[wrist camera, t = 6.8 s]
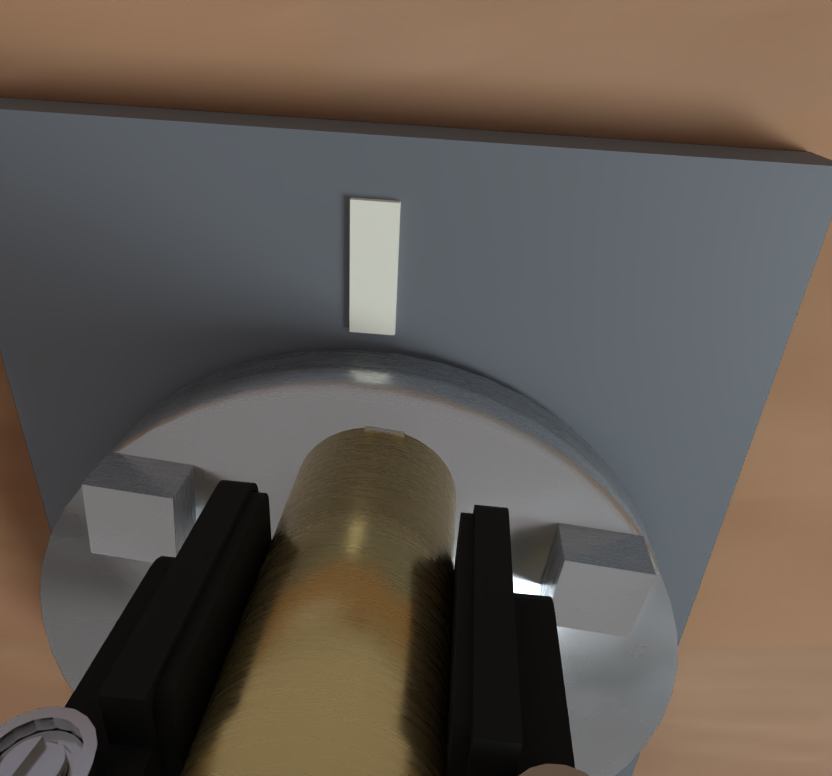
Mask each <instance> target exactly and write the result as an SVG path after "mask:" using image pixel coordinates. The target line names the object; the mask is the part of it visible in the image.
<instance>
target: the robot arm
mask: <svg viewBox="0 0 832 776" xmlns="http://www.w3.org/2000/svg"><path fill="white" fill-rule="evenodd" d="M271 541H272V539H271V523H270V507H269V496H268V494H267V493H261V492H259V491H258V486H257V484H256V483H251V482H240V481H230V480H221V481H220V482H219V483H218V484H217V486H216V488H215V489H214V491H213V493H212V495H211V496H210V498H209V500H208V502H207V503H206V505H205V507H204V509H203V510H202V512H201V514H200V516H199V517H198V519H197V521H196V523H195V524H194V526H193V528H192V530H191V531H190V533H189V535H188V536H187V538H186V540H185V542H184V543H183V545H182V547H181V549H180V550H179V552H178V554H177V556H176V557H168V556H160V557H159V558H157V559H156V560H155V561H154V562H153V564H152V565H151V566H150V568H149V570H148V571H147V573H146V574H145V576H144V578H143V579H142V581H141V583H140V584H139V586H138V588H137V589H136V591H135V592H134V594H133V596H132V597H131V599H130V601H129V602H128V604H127V606H126V607H125V609H124V611H123V612H122V614H121V615H120V617H119V619H118V620H117V622H116V624H115V625H114V627H113V629H112V630H111V632H110V633H109V635H108V637H107V638H106V640H105V642H104V643H103V645H102V647H101V648H100V650H99V652H98V653H97V655H96V656H95V658H94V660H93V661H92V663H91V665H90V666H89V668H88V670H87V671H86V673H85V674H84V676H83V678H82V679H81V681H80V683H79V684H78V686H77V688H76V689H75V691H74V693H73V694H72V696H71V697H70V699H69V701H68V702H67V704H66V706H65V707H60V706H55V707H46V708H38V709H35V710H32V711H30V712H27V713H24V714H21V715H18V716H16V717H15V718H13V719H11V720H10V721H8V722H6V723H5V724H3V725H1V726H0V776H180V774H181V772H182V769H183V767H184V764H185V761H186V759H187V756H188V754H189V751H190V749H191V746H192V743H193V741H194V738H195V736H196V733H197V731H198V728H199V726H200V723H201V720H202V718H203V715H204V713H205V710H206V708H207V705H208V702H209V700H210V697H211V695H212V692H213V690H214V687H215V685H216V682H217V679H218V677H219V674H220V672H221V669H222V667H223V664H224V661H225V659H226V656H227V654H228V651H229V649H230V646H231V643H232V641H233V638H234V636H235V633H236V631H237V628H238V626H239V623H240V620H241V618H242V615H243V613H244V610H245V608H246V605H247V602H248V600H249V597H250V595H251V592H252V590H253V587H254V585H255V582H256V579H257V577H258V574H259V572H260V569H261V567H262V564H263V561H264V559H265V556H266V554H267V551H268V549H269V546H270V543H271ZM445 776H589V775H588V774H586V773H585V772H583V771H581V770H578V769H575V762H574V754H573V747H572V739H571V731H570V723H569V716H568V708H567V700H566V692H565V685H564V677H563V669H562V662H561V654H560V646H559V638H558V631H557V623H556V615H555V608H554V603H553V600H552V597H551V596H542V595H533V594H523V593H514V587H513V571H512V554H511V538H510V521H509V509H508V508H505V507H495V506H484V505H474V510H473V513H464V512H461V514H460V521H459V530H458V539H457V548H456V556H455V565H454V579H453V605H452V628H451V652H450V676H449V699H448V723H447V746H446V770H445Z"/></svg>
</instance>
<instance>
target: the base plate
mask: <svg viewBox="0 0 832 776" xmlns="http://www.w3.org/2000/svg"><path fill="white" fill-rule="evenodd" d="M831 218H832V160H830V159H827V158H824V157H822V156H819V155H817V154H814V153H811V152H802V151H787V150H772V149H758V148H743V147H728V146H713V145H699V144H684V143H669V142H654V141H639V140H625V139H610V138H595V137H580V136H565V135H551V134H536V133H521V132H506V131H492V130H477V129H462V128H447V127H432V126H418V125H403V124H388V123H373V122H359V121H344V120H329V119H314V118H299V117H285V116H270V115H255V114H240V113H225V112H211V111H196V110H181V109H166V108H152V107H137V106H122V105H107V104H92V103H78V102H63V101H48V100H33V99H18V98H4V97H0V351H1V355H2V359H3V362H4V366H5V369H6V373H7V376H8V380H9V384H10V387H11V391H12V394H13V398H14V402H15V405H16V409H17V412H18V416H19V419H20V423H21V427H22V430H23V434H24V437H25V441H26V445H27V448H28V452H29V455H30V459H31V462H32V466H33V470H34V473H35V477H36V480H37V484H38V488H39V491H40V495H41V498H42V502H43V505H44V509H45V513H46V516H47V520H48V523H49V527H50V530H51V534H52V532H53V530H54V528H55V526H56V524H57V522H58V520H59V518H60V516H61V514H62V512H63V511H64V509H65V507H66V506H67V504H68V503H69V502H70V501H71V499H72V498H73V497H74V496H75V494H76V493H77V492H78V491H79V489H80V488H81V487H82V483H83V482H84V481H85V480H86V479H87V477H88V476H89V475H90V474H91V473H92V472H93V470H94V469H95V468H96V467H97V466H98V465H99V463H100V462H101V461H102V460H103V459H104V457H105V456H106V455H107V454H108V453H109V452H111V451H112V450H113V449H114V448H115V446H116V445H117V444H118V443H119V442H120V440H121V439H122V438H123V437H124V436H125V435H126V433H127V432H128V431H129V430H130V429H131V427H132V426H133V425H134V424H135V423H137V422H138V421H139V420H140V419H141V418H142V417H143V416H145V415H146V414H147V413H148V412H149V411H150V410H151V409H152V408H154V407H155V406H156V405H157V404H158V403H159V402H161V401H163V400H164V399H166V398H167V397H169V396H171V395H172V394H174V393H175V392H177V391H179V390H180V389H182V388H183V387H185V386H187V385H188V384H190V383H192V382H194V381H197V380H199V379H201V378H203V377H206V376H208V375H210V374H213V373H215V372H217V371H219V370H222V369H224V368H227V367H230V366H234V365H237V364H241V363H244V362H248V361H252V360H255V359H259V358H262V357H266V356H273V355H280V354H287V353H293V352H300V351H307V350H344V349H356V350H366V351H376V352H387V353H397V354H403V355H408V356H412V357H417V358H421V359H426V360H431V361H435V362H440V363H444V364H447V365H450V366H453V367H456V368H459V369H462V370H465V371H468V372H470V373H473V374H476V375H479V376H482V377H485V378H488V379H490V380H492V381H494V382H496V383H498V384H500V385H502V386H504V387H506V388H508V389H510V390H512V391H514V392H516V393H519V394H521V395H523V396H525V397H527V398H528V399H530V400H531V401H533V402H534V403H536V404H538V405H539V406H541V407H542V408H544V409H545V410H547V411H548V412H550V413H551V414H553V415H554V416H556V417H557V418H559V419H560V420H562V421H563V422H564V423H566V424H567V425H568V426H569V427H570V428H571V429H572V430H574V431H575V432H576V433H577V434H578V435H579V436H580V437H582V438H583V439H584V440H585V441H586V442H587V443H589V444H590V445H591V446H592V447H593V448H594V449H595V450H596V452H597V453H598V454H599V455H600V456H601V457H602V458H603V460H604V461H605V462H606V463H607V464H608V465H609V467H610V468H611V469H612V470H613V471H614V472H615V474H616V475H617V476H618V478H619V479H620V481H621V483H622V484H623V486H624V487H625V489H626V491H627V492H628V494H629V495H630V497H631V499H632V500H633V502H634V503H635V505H636V508H637V510H638V512H639V515H640V517H641V520H642V522H643V525H644V527H645V529H646V532H647V534H648V537H649V540H650V543H651V546H652V549H653V552H654V555H655V558H656V561H657V564H658V567H659V570H660V573H661V576H662V579H663V581H664V584H665V587H666V590H667V593H668V596H669V599H670V602H671V606H672V611H673V616H674V621H675V626H676V630H677V647H678V645H679V642H680V639H681V636H682V633H683V631H684V628H685V625H686V622H687V620H688V617H689V614H690V611H691V608H692V606H693V603H694V600H695V597H696V594H697V592H698V589H699V586H700V583H701V580H702V578H703V575H704V572H705V569H706V567H707V564H708V561H709V558H710V555H711V553H712V550H713V547H714V544H715V541H716V539H717V536H718V533H719V530H720V528H721V525H722V522H723V519H724V516H725V514H726V511H727V508H728V505H729V502H730V500H731V497H732V494H733V491H734V488H735V486H736V483H737V480H738V477H739V475H740V472H741V469H742V466H743V463H744V461H745V458H746V455H747V452H748V449H749V447H750V444H751V441H752V438H753V436H754V433H755V430H756V427H757V424H758V422H759V419H760V416H761V413H762V410H763V408H764V405H765V402H766V399H767V396H768V394H769V391H770V388H771V385H772V383H773V380H774V377H775V374H776V371H777V369H778V366H779V363H780V360H781V357H782V355H783V352H784V349H785V346H786V344H787V341H788V338H789V335H790V332H791V330H792V327H793V324H794V321H795V318H796V316H797V313H798V310H799V307H800V304H801V302H802V299H803V296H804V293H805V291H806V288H807V285H808V282H809V279H810V277H811V274H812V271H813V268H814V265H815V263H816V260H817V257H818V254H819V252H820V249H821V246H822V243H823V240H824V238H825V235H826V232H827V229H828V226H829V224H830V221H831ZM639 753H640V752H639ZM639 753H638V754H637V755H636V756H635V757H634V758H633V760H632V761H631V762H630V763H629V764H628V765H627V766H626V767H625V768H624V769H623V770H621V771H620V772H619V773H618V774H617V775H615V776H632V773H633V770H634V767H635V764H636V762H637V759H638V756H639Z"/></svg>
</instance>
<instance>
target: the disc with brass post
mask: <svg viewBox="0 0 832 776" xmlns="http://www.w3.org/2000/svg"><path fill="white" fill-rule="evenodd" d="M221 480H230V481H240V482H251V483H256V484H257V486H258V491H259V492H261V493H267V494H268V496H269V507H270V523H271V539H272V541H271V543H270V546H269V549H268V551H267V554H266V556H265V559H264V561H263V564H262V567H261V569H260V572H259V574H258V577H257V579H256V582H255V585H254V587H253V590H252V592H251V595H250V597H249V600H248V602H247V605H246V608H245V610H244V613H243V615H242V618H241V620H240V623H239V626H238V628H237V631H236V633H235V636H234V638H233V641H232V643H231V646H230V649H229V651H228V654H227V656H226V659H225V661H224V664H223V667H222V669H221V672H220V674H219V677H218V679H217V682H216V685H215V687H214V690H213V692H212V695H211V697H210V700H209V702H208V705H207V708H206V710H205V713H204V715H203V718H202V720H201V723H200V726H199V728H198V731H197V733H196V736H195V738H194V741H193V743H192V746H191V749H190V751H189V754H188V756H187V759H186V761H185V764H184V767H183V769H182V772H181V774H180V776H445V770H446V746H447V723H448V699H449V676H450V652H451V628H452V605H453V579H454V565H455V556H456V548H457V539H458V530H459V521H460V514H461V512H464V513H473V510H474V505H484V506H495V507H505V508H508V509H509V521H510V538H511V554H512V571H513V587H514V593H523V594H533V595H542V596H551V597H552V600H553V603H554V608H555V615H556V623H557V631H558V638H559V646H560V654H561V662H562V669H563V677H564V685H565V692H566V700H567V708H568V716H569V723H570V731H571V739H572V747H573V754H574V762H575V769H578V770H581V771H583V772H585V773H586V774H588V775H589V776H615V775H617V774H618V773H619V772H620V771H621V770H623V769H624V768H625V767H626V766H627V765H628V764H629V763H630V762H631V761H632V760H633V758H634V757H635V756H636V755H637V754H638V753H639V752H640V751H641V749H642V748H643V747H644V746H645V745H646V744H647V742H648V740H649V739H650V737H651V736H652V734H653V732H654V731H655V729H656V728H657V726H658V725H659V723H660V721H661V720H662V717H663V715H664V712H665V710H666V707H667V705H668V702H669V700H670V697H671V695H672V691H673V686H674V681H675V676H676V670H677V665H678V651H677V630H676V626H675V621H674V616H673V611H672V606H671V602H670V599H669V596H668V593H667V590H666V587H665V584H664V581H663V579H662V576H661V573H660V570H659V567H658V564H657V561H656V558H655V555H654V552H653V549H652V546H651V543H650V540H649V537H648V534H647V532H646V529H645V527H644V525H643V522H642V520H641V517H640V515H639V512H638V510H637V508H636V505H635V503H634V502H633V500H632V499H631V497H630V495H629V494H628V492H627V491H626V489H625V487H624V486H623V484H622V483H621V481H620V479H619V478H618V476H617V475H616V474H615V472H614V471H613V470H612V469H611V468H610V467H609V465H608V464H607V463H606V462H605V461H604V460H603V458H602V457H601V456H600V455H599V454H598V453H597V452H596V450H595V449H594V448H593V447H592V446H591V445H590V444H589V443H587V442H586V441H585V440H584V439H583V438H582V437H580V436H579V435H578V434H577V433H576V432H575V431H574V430H572V429H571V428H570V427H569V426H568V425H567V424H566V423H564V422H563V421H562V420H560V419H559V418H557V417H556V416H554V415H553V414H551V413H550V412H548V411H547V410H545V409H544V408H542V407H541V406H539V405H538V404H536V403H534V402H533V401H531V400H530V399H528V398H527V397H525V396H523V395H521V394H519V393H516V392H514V391H512V390H510V389H508V388H506V387H504V386H502V385H500V384H498V383H496V382H494V381H492V380H490V379H488V378H485V377H482V376H479V375H476V374H473V373H470V372H468V371H465V370H462V369H459V368H456V367H453V366H450V365H447V364H444V363H440V362H435V361H431V360H426V359H421V358H417V357H412V356H408V355H403V354H397V353H387V352H376V351H366V350H356V349H344V350H307V351H300V352H293V353H287V354H280V355H273V356H266V357H262V358H259V359H255V360H252V361H248V362H244V363H241V364H237V365H234V366H230V367H227V368H224V369H222V370H219V371H217V372H215V373H213V374H210V375H208V376H206V377H203V378H201V379H199V380H197V381H194V382H192V383H190V384H188V385H187V386H185V387H183V388H182V389H180V390H179V391H177V392H175V393H174V394H172V395H171V396H169V397H167V398H166V399H164V400H163V401H161V402H159V403H158V404H157V405H156V406H155V407H154V408H152V409H151V410H150V411H149V412H148V413H147V414H146V415H145V416H143V417H142V418H141V419H140V420H139V421H138V422H137V423H135V424H134V425H133V426H132V427H131V429H130V430H129V431H128V432H127V433H126V435H125V436H124V437H123V438H122V439H121V440H120V442H119V443H118V444H117V445H116V446H115V448H114V449H113V450H112V451H111V452H109V453H108V454H107V455H106V456H105V457H104V459H103V460H102V461H101V462H100V463H99V465H98V466H97V467H96V468H95V469H94V470H93V472H92V473H91V474H90V475H89V476H88V477H87V479H86V480H85V481H84V482H83V483H82V487H81V488H80V489H79V491H78V492H77V493H76V494H75V496H74V497H73V498H72V499H71V501H70V502H69V503H68V504H67V506H66V507H65V509H64V511H63V512H62V514H61V516H60V518H59V520H58V522H57V524H56V526H55V528H54V530H53V532H52V534H51V535H50V539H49V542H48V546H47V549H46V553H45V556H44V560H43V563H42V573H41V585H40V600H41V609H42V618H43V624H44V628H45V631H46V634H47V638H48V641H49V645H50V648H51V651H52V653H53V655H54V657H55V659H56V662H57V664H58V666H59V668H60V670H61V672H62V674H63V677H64V678H65V680H66V681H67V683H68V684H69V686H70V687H71V689H72V690H73V692H74V691H75V689H76V688H77V686H78V684H79V683H80V681H81V679H82V678H83V676H84V674H85V673H86V671H87V670H88V668H89V666H90V665H91V663H92V661H93V660H94V658H95V656H96V655H97V653H98V652H99V650H100V648H101V647H102V645H103V643H104V642H105V640H106V638H107V637H108V635H109V633H110V632H111V630H112V629H113V627H114V625H115V624H116V622H117V620H118V619H119V617H120V615H121V614H122V612H123V611H124V609H125V607H126V606H127V604H128V602H129V601H130V599H131V597H132V596H133V594H134V592H135V591H136V589H137V588H138V586H139V584H140V583H141V581H142V579H143V578H144V576H145V574H146V573H147V571H148V570H149V568H150V566H151V565H152V564H153V562H154V561H155V560H156V559H157V558H159V557H160V556H168V557H176V556H177V554H178V552H179V550H180V549H181V547H182V545H183V543H184V542H185V540H186V538H187V536H188V535H189V533H190V531H191V530H192V528H193V526H194V524H195V523H196V521H197V519H198V517H199V516H200V514H201V512H202V510H203V509H204V507H205V505H206V503H207V502H208V500H209V498H210V496H211V495H212V493H213V491H214V489H215V488H216V486H217V484H218V483H219V482H220V481H221Z"/></svg>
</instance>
